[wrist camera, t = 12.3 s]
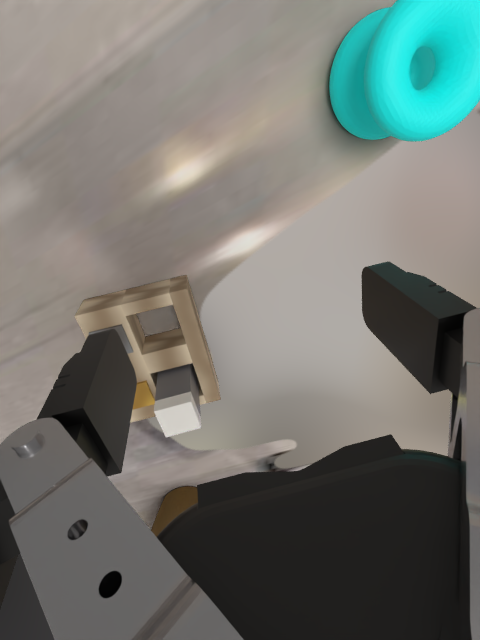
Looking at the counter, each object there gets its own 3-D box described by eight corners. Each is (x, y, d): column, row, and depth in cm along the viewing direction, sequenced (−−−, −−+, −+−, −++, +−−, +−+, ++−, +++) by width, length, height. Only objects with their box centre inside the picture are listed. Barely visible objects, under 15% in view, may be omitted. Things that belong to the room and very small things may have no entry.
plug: (169, 380, 46) (166, 437, 38) (159, 356, 44) (153, 411, 36) (197, 372, 46) (201, 427, 38) (189, 348, 44) (190, 401, 36)
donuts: (413, 170, 28) (349, 52, 23) (358, 161, 36) (304, 74, 32) (528, 71, 25) (482, -80, 21) (440, 86, 34) (394, -19, 30)
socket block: (133, 401, 47) (128, 424, 43) (84, 299, 39) (73, 317, 35) (217, 380, 48) (220, 401, 44) (186, 274, 40) (186, 289, 36)
